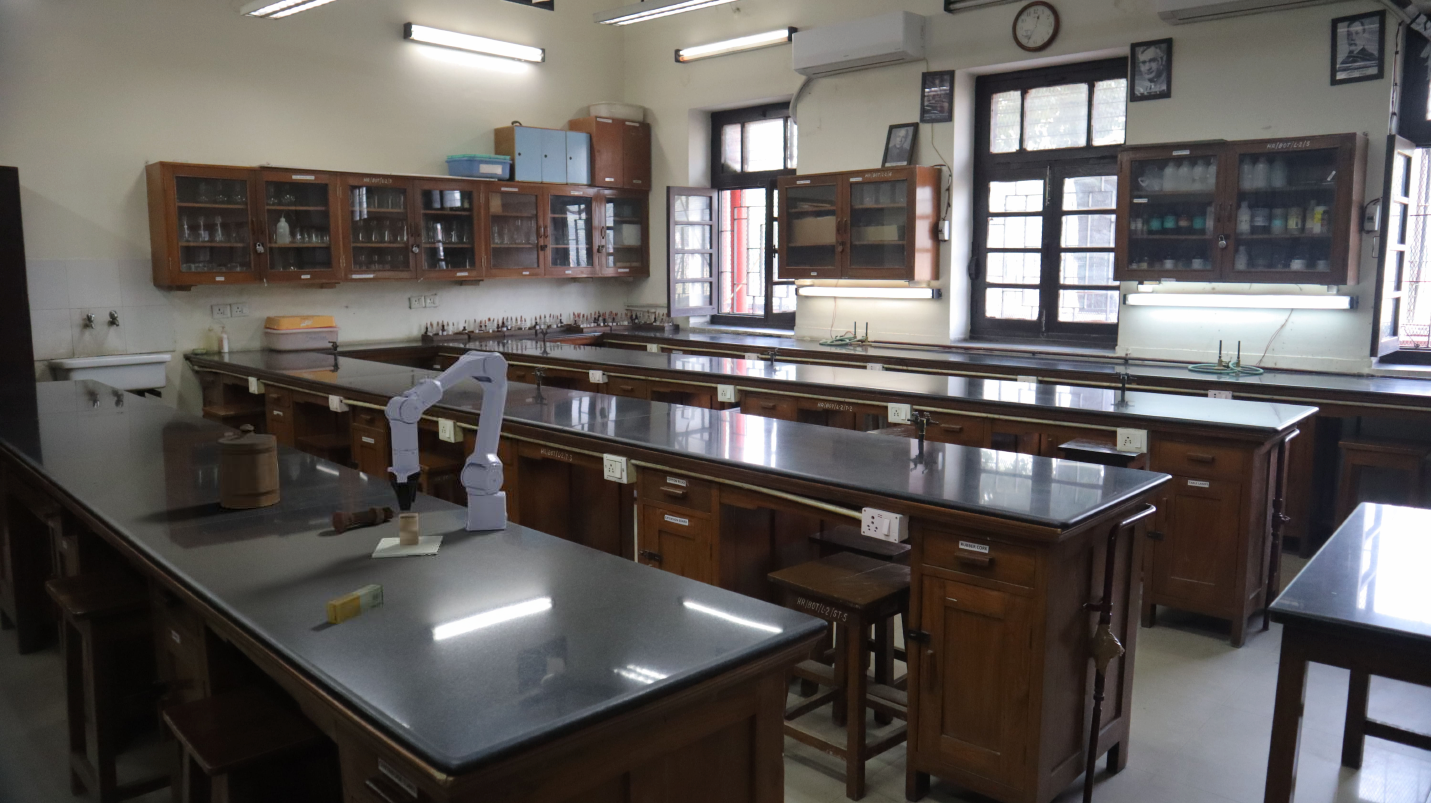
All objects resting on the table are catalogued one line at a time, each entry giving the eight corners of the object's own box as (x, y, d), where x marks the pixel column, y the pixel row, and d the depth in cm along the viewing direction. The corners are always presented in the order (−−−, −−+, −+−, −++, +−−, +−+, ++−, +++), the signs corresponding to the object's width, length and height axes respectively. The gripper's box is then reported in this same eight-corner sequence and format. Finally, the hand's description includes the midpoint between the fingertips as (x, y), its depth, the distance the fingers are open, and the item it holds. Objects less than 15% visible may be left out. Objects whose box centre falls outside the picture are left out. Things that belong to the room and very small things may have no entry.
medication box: (374, 602, 189) (372, 582, 188) (384, 604, 188) (383, 584, 187) (327, 623, 178) (325, 602, 177) (338, 625, 177) (336, 603, 176)
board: (442, 537, 233) (442, 535, 233) (436, 554, 219) (436, 552, 219) (382, 540, 231) (382, 538, 231) (372, 557, 217) (371, 555, 217)
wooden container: (290, 497, 274) (286, 420, 271) (261, 510, 259) (256, 429, 256) (241, 496, 276) (236, 419, 273) (209, 508, 261) (203, 428, 258)
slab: (419, 541, 228) (417, 512, 227) (417, 544, 225) (416, 515, 224) (401, 542, 227) (400, 513, 226) (399, 545, 224) (398, 516, 223)
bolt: (393, 527, 250) (339, 537, 238) (384, 515, 252) (329, 524, 241) (399, 509, 248) (345, 519, 236) (390, 497, 250) (335, 506, 239)
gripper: (392, 443, 229) (394, 499, 231) (381, 455, 215) (384, 514, 217) (422, 442, 230) (425, 498, 232) (414, 454, 216) (417, 513, 218)
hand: (407, 506), depth 225 cm, fingers open, 7 cm apart
